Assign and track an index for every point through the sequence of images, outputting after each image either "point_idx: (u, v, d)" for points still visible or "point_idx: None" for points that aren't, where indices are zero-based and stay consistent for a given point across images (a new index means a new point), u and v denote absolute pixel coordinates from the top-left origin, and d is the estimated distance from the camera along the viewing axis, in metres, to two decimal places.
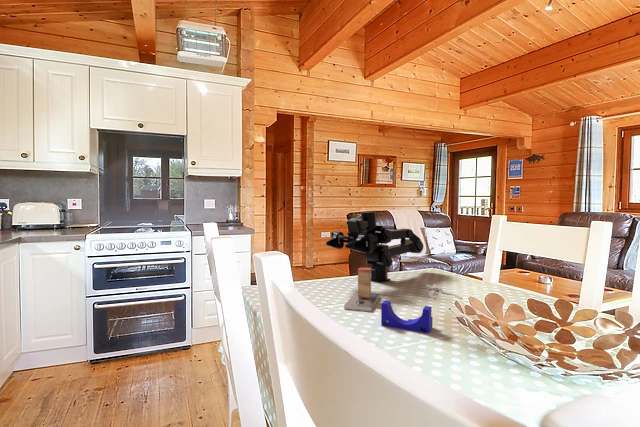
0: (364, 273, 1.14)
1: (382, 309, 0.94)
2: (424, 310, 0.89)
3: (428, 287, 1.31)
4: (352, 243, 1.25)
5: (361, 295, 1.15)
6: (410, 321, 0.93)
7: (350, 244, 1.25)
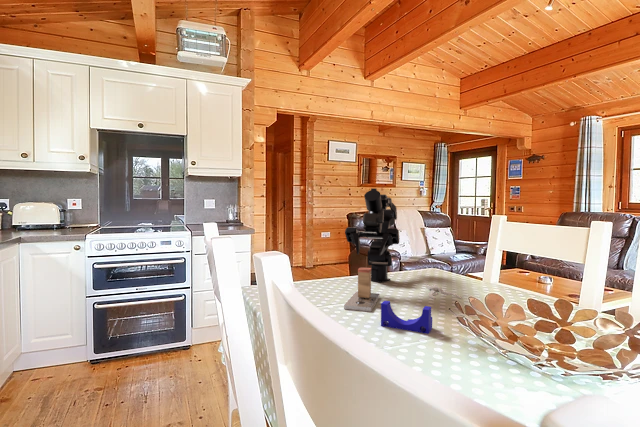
0: (364, 273, 1.14)
1: (382, 309, 0.93)
2: (424, 310, 0.89)
3: (428, 287, 1.31)
4: (383, 247, 1.23)
5: (361, 295, 1.15)
6: (410, 321, 0.93)
7: (382, 250, 1.23)
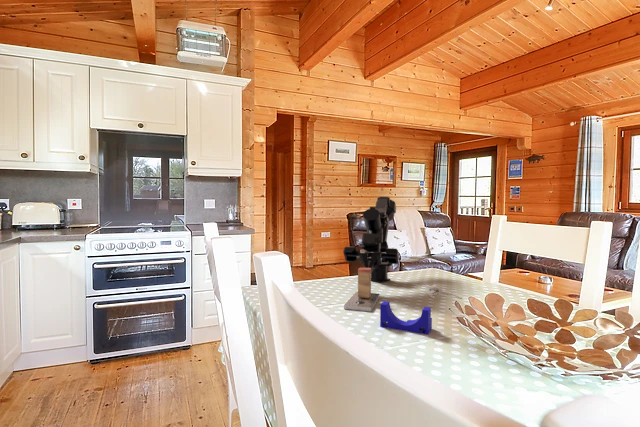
0: (364, 273, 1.14)
1: (381, 310, 0.93)
2: (423, 311, 0.88)
3: (428, 287, 1.31)
4: (371, 268, 1.22)
5: (361, 295, 1.15)
6: (409, 322, 0.92)
7: (371, 270, 1.22)
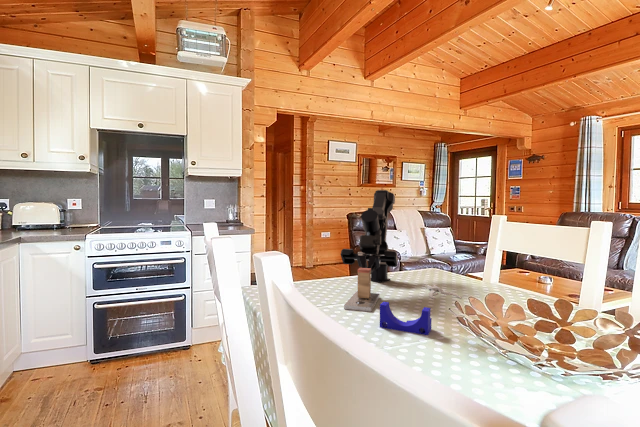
0: (364, 273, 1.14)
1: (380, 310, 0.92)
2: (423, 311, 0.88)
3: (428, 287, 1.31)
4: None
5: (361, 295, 1.15)
6: (409, 322, 0.92)
7: None
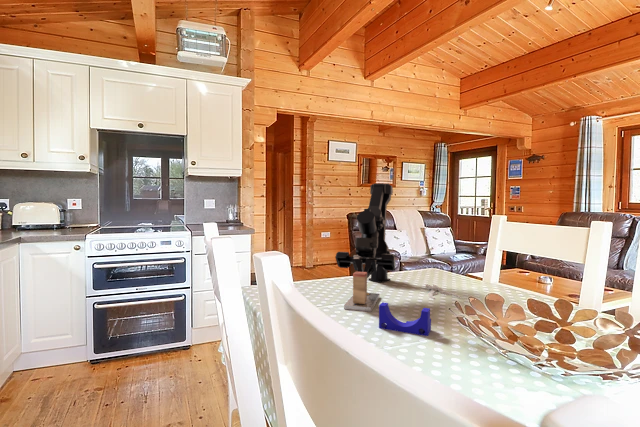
0: (359, 278, 1.08)
1: (380, 311, 0.92)
2: (423, 312, 0.87)
3: (428, 287, 1.31)
4: None
5: (356, 301, 1.09)
6: (408, 323, 0.91)
7: None
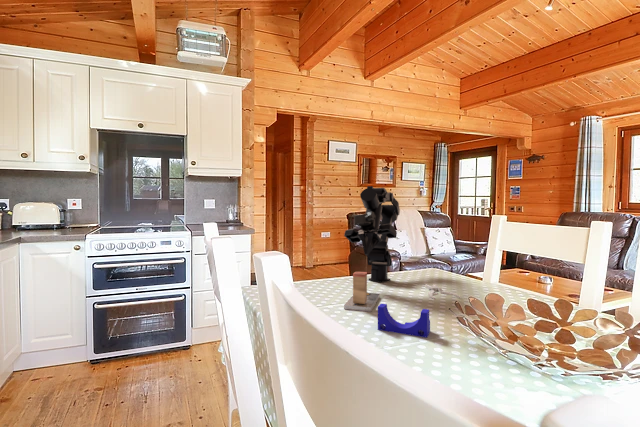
0: (359, 278, 1.08)
1: (378, 312, 0.91)
2: (422, 313, 0.86)
3: (428, 287, 1.31)
4: (369, 246, 1.27)
5: (356, 301, 1.09)
6: (407, 324, 0.90)
7: (368, 249, 1.26)
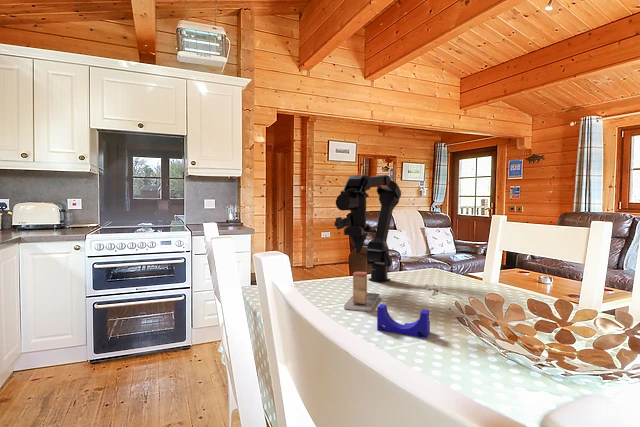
0: (359, 278, 1.08)
1: (378, 313, 0.90)
2: (422, 314, 0.86)
3: (428, 287, 1.31)
4: (355, 246, 1.31)
5: (356, 301, 1.09)
6: (407, 325, 0.90)
7: (356, 248, 1.31)
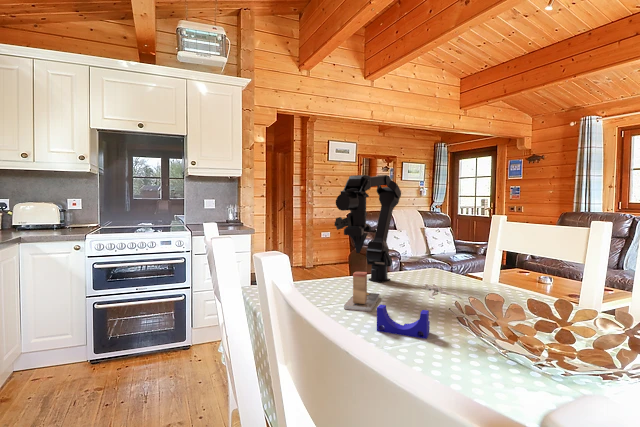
0: (359, 278, 1.08)
1: (377, 313, 0.90)
2: (422, 314, 0.85)
3: (428, 287, 1.31)
4: (355, 246, 1.31)
5: (356, 301, 1.09)
6: (406, 326, 0.89)
7: (356, 248, 1.31)
